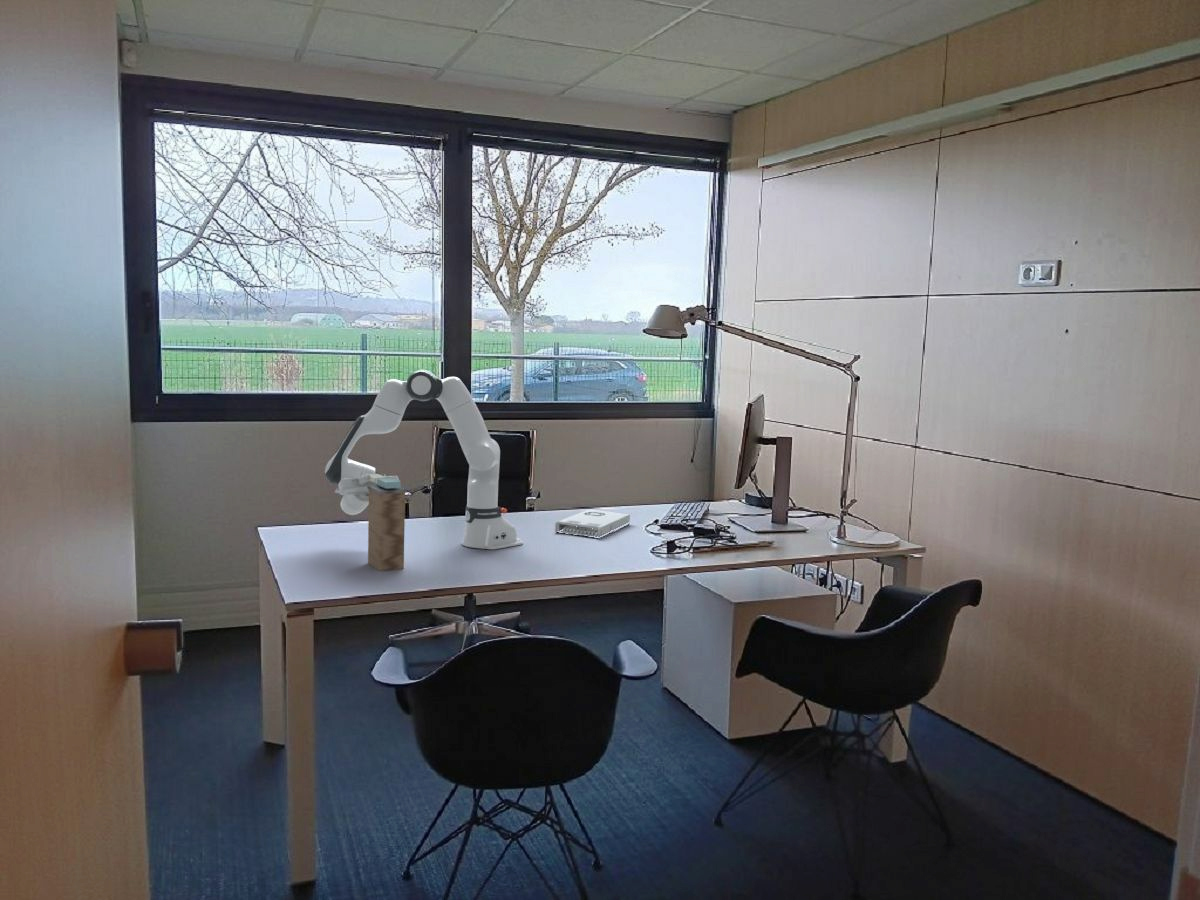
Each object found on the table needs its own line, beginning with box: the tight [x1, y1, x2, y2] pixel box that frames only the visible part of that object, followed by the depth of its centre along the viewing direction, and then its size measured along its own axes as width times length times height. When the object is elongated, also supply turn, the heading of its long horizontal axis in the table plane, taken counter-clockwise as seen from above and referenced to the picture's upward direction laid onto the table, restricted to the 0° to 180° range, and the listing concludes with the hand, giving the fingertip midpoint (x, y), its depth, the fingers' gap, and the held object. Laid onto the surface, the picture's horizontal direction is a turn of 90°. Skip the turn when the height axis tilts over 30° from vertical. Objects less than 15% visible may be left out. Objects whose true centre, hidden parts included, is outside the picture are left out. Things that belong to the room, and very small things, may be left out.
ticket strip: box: [366, 473, 402, 489], centre depth 289 cm, size 5×20×2 cm, turn 34°
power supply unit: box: [554, 508, 631, 537], centre depth 360 cm, size 19×33×5 cm, turn 157°
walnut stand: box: [367, 485, 408, 572], centre depth 287 cm, size 9×11×26 cm
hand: (375, 476), depth 294 cm, fingers closed on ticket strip, 4 cm apart
